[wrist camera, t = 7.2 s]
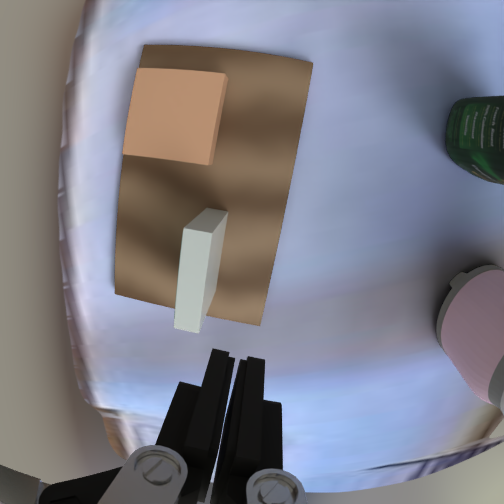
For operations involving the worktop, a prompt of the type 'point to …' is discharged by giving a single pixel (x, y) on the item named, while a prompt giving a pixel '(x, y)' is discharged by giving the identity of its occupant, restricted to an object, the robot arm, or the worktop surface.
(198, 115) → the terracotta tile
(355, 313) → the worktop surface
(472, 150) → the coffee jar
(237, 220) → the walnut board
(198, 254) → the grey-blue tile
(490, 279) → the blender
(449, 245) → the worktop surface
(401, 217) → the worktop surface
